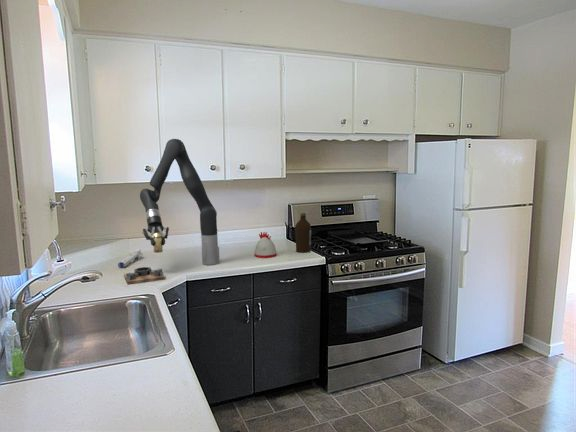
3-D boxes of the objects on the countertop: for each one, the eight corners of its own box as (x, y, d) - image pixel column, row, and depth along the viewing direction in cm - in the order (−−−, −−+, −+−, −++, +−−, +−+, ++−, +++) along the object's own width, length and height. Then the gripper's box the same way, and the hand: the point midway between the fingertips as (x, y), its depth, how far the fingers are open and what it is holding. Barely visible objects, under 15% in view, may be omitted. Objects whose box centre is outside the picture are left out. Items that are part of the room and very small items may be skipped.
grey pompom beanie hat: (261, 252, 269) (260, 229, 267) (280, 254, 263) (279, 231, 261) (250, 257, 256) (249, 233, 254) (269, 259, 250) (269, 234, 248)
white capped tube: (116, 262, 233) (135, 246, 257) (117, 272, 235) (136, 256, 259) (125, 262, 232) (143, 246, 256) (126, 272, 234) (144, 256, 258)
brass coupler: (161, 250, 222) (161, 232, 221) (163, 252, 218) (163, 233, 217) (152, 251, 220) (152, 232, 219) (154, 252, 216) (153, 234, 214)
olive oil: (295, 253, 264) (295, 214, 261) (294, 249, 275) (294, 212, 271) (312, 252, 265) (312, 214, 261) (310, 249, 275) (310, 212, 272)
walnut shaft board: (159, 272, 224) (158, 269, 224) (165, 279, 210) (165, 276, 210) (123, 276, 216) (123, 274, 216) (127, 284, 202) (127, 281, 202)
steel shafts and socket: (158, 269, 223) (158, 264, 223) (163, 275, 212) (163, 270, 211) (124, 274, 215) (123, 269, 215) (127, 280, 204) (127, 275, 203)
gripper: (140, 215, 220) (144, 241, 211) (168, 214, 226) (173, 239, 217) (139, 223, 225) (143, 250, 216) (166, 222, 232) (171, 247, 223)
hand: (158, 244), depth 217 cm, fingers closed on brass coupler, 4 cm apart
